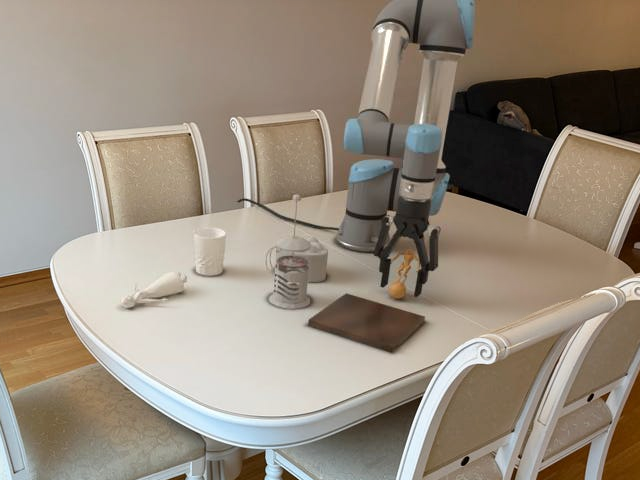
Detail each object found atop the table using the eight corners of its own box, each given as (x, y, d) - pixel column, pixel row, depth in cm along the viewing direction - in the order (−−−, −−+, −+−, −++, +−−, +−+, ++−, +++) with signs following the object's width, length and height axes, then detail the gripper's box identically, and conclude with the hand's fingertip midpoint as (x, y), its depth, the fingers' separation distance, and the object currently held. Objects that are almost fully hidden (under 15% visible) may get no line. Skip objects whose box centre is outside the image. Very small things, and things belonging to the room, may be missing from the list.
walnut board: (308, 325, 153) (308, 319, 152) (345, 298, 167) (346, 293, 166) (392, 352, 144) (393, 346, 144) (424, 322, 158) (425, 316, 157)
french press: (296, 312, 158) (305, 204, 146) (254, 298, 163) (258, 193, 151) (318, 298, 166) (327, 194, 153) (276, 285, 171) (283, 183, 158)
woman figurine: (199, 276, 161) (137, 303, 149) (200, 294, 163) (139, 322, 151) (166, 262, 167) (103, 286, 155) (167, 279, 169) (106, 304, 158)
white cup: (230, 269, 178) (231, 231, 173) (215, 279, 172) (215, 240, 167) (203, 262, 181) (203, 225, 176) (187, 272, 174) (187, 234, 169)
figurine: (378, 294, 170) (384, 247, 164) (394, 288, 174) (400, 242, 168) (404, 305, 165) (412, 257, 159) (420, 299, 169) (428, 252, 163)
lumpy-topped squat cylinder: (294, 261, 186) (296, 229, 181) (334, 274, 179) (338, 242, 175) (269, 271, 178) (271, 239, 174) (311, 286, 172) (314, 253, 167)
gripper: (365, 191, 159) (354, 283, 170) (453, 211, 150) (435, 307, 161) (379, 184, 164) (368, 274, 176) (465, 203, 156) (447, 296, 167)
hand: (400, 290), depth 168 cm, fingers closed on figurine, 8 cm apart
